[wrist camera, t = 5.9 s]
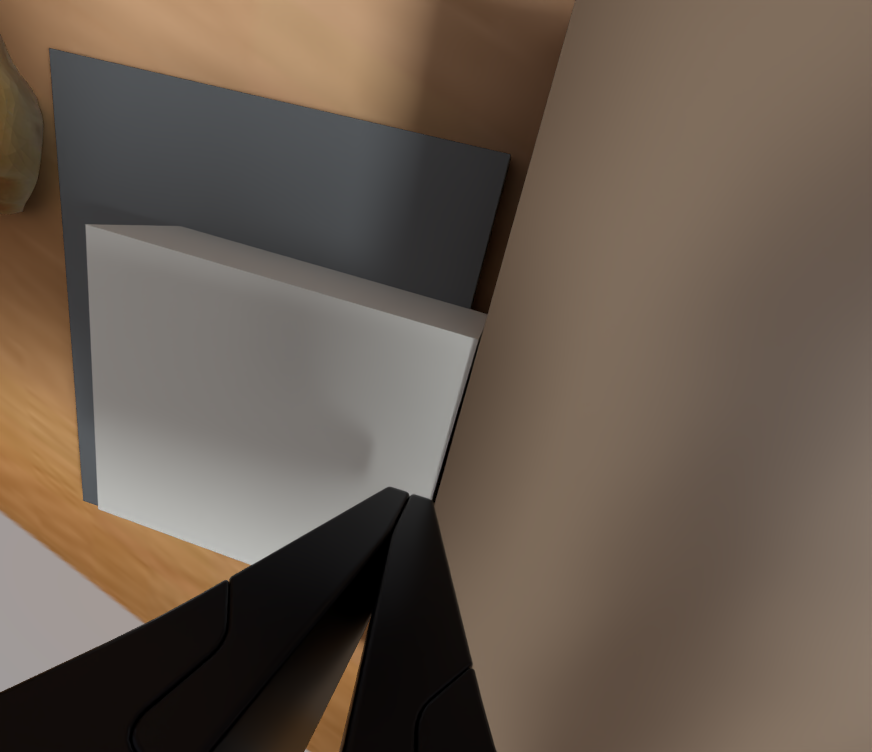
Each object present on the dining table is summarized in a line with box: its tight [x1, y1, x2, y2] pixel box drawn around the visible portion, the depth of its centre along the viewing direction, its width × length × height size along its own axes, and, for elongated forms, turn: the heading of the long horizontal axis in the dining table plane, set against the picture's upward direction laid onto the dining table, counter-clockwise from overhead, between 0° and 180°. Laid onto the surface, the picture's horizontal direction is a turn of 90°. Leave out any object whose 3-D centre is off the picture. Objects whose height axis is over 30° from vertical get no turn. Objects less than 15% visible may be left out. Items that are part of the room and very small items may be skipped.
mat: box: [49, 48, 511, 506], centre depth 12 cm, size 11×13×1 cm
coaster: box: [85, 224, 488, 565], centre depth 10 cm, size 8×7×2 cm
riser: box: [434, 0, 872, 752], centre depth 9 cm, size 11×18×3 cm, turn 167°
